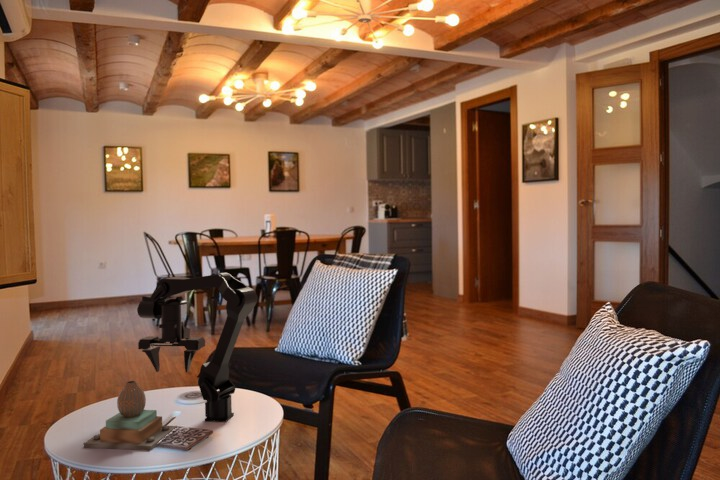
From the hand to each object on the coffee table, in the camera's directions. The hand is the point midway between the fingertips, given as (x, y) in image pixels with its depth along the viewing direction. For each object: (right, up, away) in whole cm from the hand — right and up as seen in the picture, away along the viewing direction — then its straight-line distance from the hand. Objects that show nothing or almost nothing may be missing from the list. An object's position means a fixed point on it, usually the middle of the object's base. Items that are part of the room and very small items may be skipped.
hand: (172, 371), depth 167 cm
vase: (-4, -7, -20) cm, 22 cm away
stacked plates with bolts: (-4, -13, -20) cm, 24 cm away
